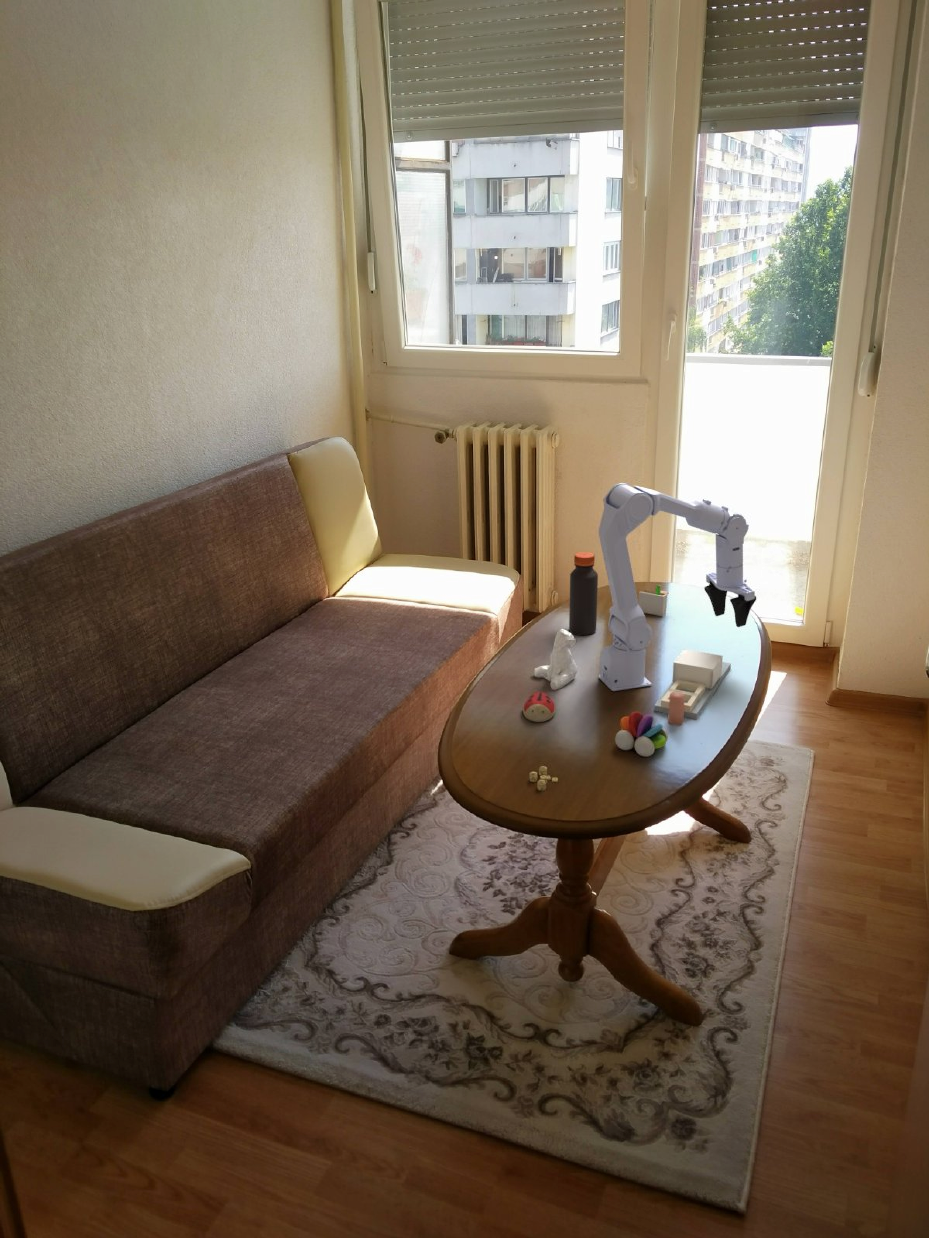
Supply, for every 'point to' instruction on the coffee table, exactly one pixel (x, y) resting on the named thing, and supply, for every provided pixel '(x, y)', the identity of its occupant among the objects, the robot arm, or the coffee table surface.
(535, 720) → the ladybug figurine
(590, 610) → the bottle
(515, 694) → the coffee table surface
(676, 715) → the peg
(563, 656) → the white creature statuette
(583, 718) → the coffee table surface
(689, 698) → the board
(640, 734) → the rainbow fan toy
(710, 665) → the block
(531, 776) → the dice set
